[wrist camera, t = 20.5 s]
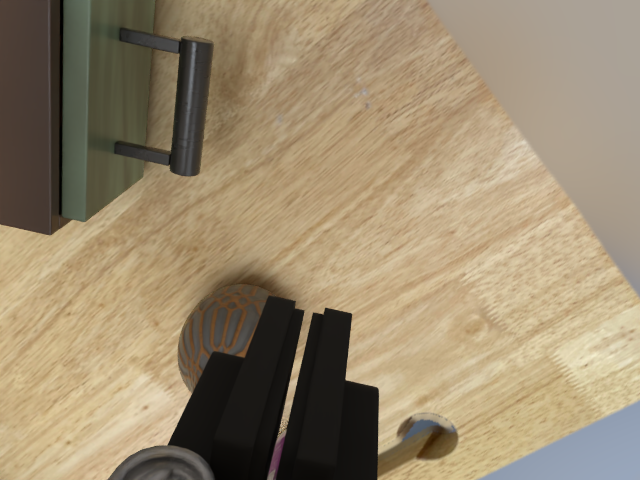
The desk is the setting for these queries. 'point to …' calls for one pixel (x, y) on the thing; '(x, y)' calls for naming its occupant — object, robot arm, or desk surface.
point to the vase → (219, 328)
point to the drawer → (122, 101)
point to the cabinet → (30, 115)
